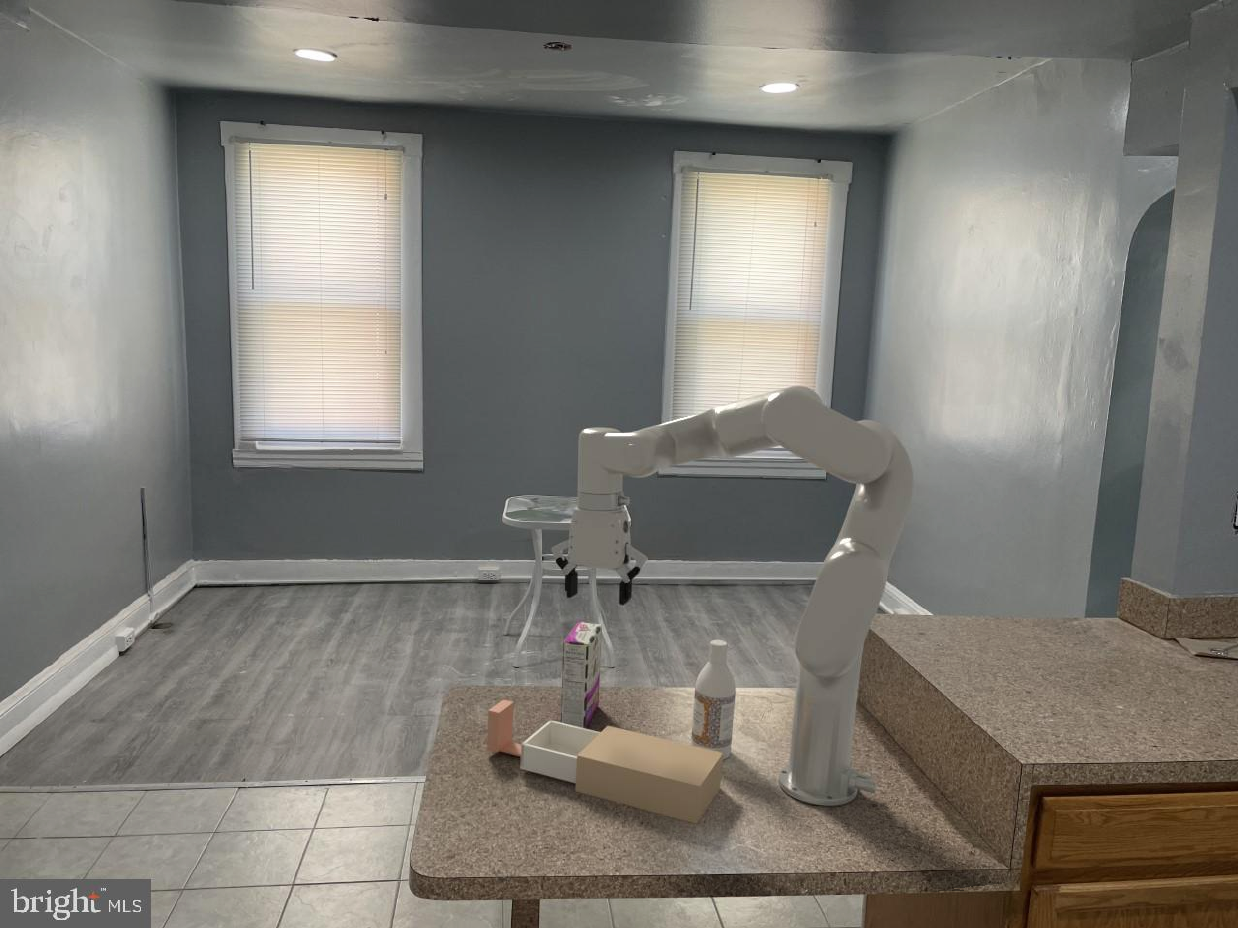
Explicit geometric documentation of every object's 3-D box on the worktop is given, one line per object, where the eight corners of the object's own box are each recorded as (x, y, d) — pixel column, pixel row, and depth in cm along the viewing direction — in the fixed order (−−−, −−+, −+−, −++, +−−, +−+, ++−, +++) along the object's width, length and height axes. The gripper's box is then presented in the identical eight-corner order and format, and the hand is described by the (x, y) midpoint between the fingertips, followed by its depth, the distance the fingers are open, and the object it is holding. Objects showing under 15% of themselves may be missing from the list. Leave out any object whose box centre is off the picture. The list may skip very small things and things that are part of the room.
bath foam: (683, 746, 163) (691, 637, 159) (718, 741, 165) (726, 633, 162) (702, 764, 156) (710, 651, 153) (738, 759, 159) (747, 647, 156)
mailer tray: (655, 769, 152) (658, 728, 151) (632, 798, 143) (635, 754, 142) (509, 733, 162) (510, 694, 161) (478, 757, 153) (480, 716, 152)
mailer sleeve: (720, 787, 149) (723, 752, 148) (697, 823, 138) (700, 786, 137) (605, 759, 156) (607, 725, 155) (575, 791, 145) (577, 755, 144)
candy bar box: (573, 702, 178) (577, 620, 176) (599, 706, 177) (603, 623, 175) (558, 727, 167) (562, 640, 165) (585, 730, 166) (589, 643, 164)
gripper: (655, 502, 157) (652, 600, 160) (562, 493, 163) (560, 587, 166) (640, 510, 150) (637, 612, 153) (543, 500, 156) (542, 598, 159)
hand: (597, 599), depth 159 cm, fingers open, 9 cm apart
